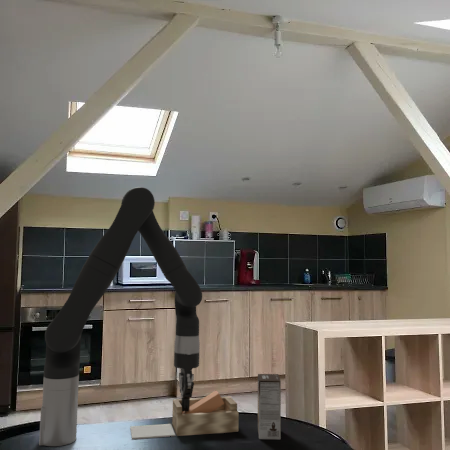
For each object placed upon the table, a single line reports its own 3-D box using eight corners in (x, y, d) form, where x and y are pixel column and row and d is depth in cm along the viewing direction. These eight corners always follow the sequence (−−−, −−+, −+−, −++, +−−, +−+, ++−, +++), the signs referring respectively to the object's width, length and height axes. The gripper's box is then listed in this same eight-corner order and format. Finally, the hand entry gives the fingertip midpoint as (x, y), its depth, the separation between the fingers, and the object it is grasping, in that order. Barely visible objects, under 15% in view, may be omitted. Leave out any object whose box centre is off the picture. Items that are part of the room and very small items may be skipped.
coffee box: (257, 428, 139) (257, 373, 141) (278, 429, 139) (278, 373, 140) (258, 439, 130) (258, 380, 132) (281, 439, 130) (281, 380, 131)
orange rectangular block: (189, 426, 136) (183, 415, 136) (186, 422, 140) (181, 411, 140) (224, 403, 139) (219, 393, 139) (221, 400, 143) (215, 390, 143)
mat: (132, 439, 129) (132, 437, 129) (130, 427, 138) (130, 426, 138) (175, 436, 132) (175, 434, 132) (170, 425, 141) (170, 423, 141)
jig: (177, 436, 132) (177, 408, 133) (172, 425, 141) (172, 399, 142) (238, 431, 136) (238, 404, 137) (229, 421, 146) (229, 396, 147)
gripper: (171, 347, 145) (169, 405, 143) (177, 354, 133) (175, 417, 131) (195, 347, 147) (193, 404, 145) (203, 353, 134) (202, 416, 132)
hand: (185, 410), depth 138 cm, fingers closed
